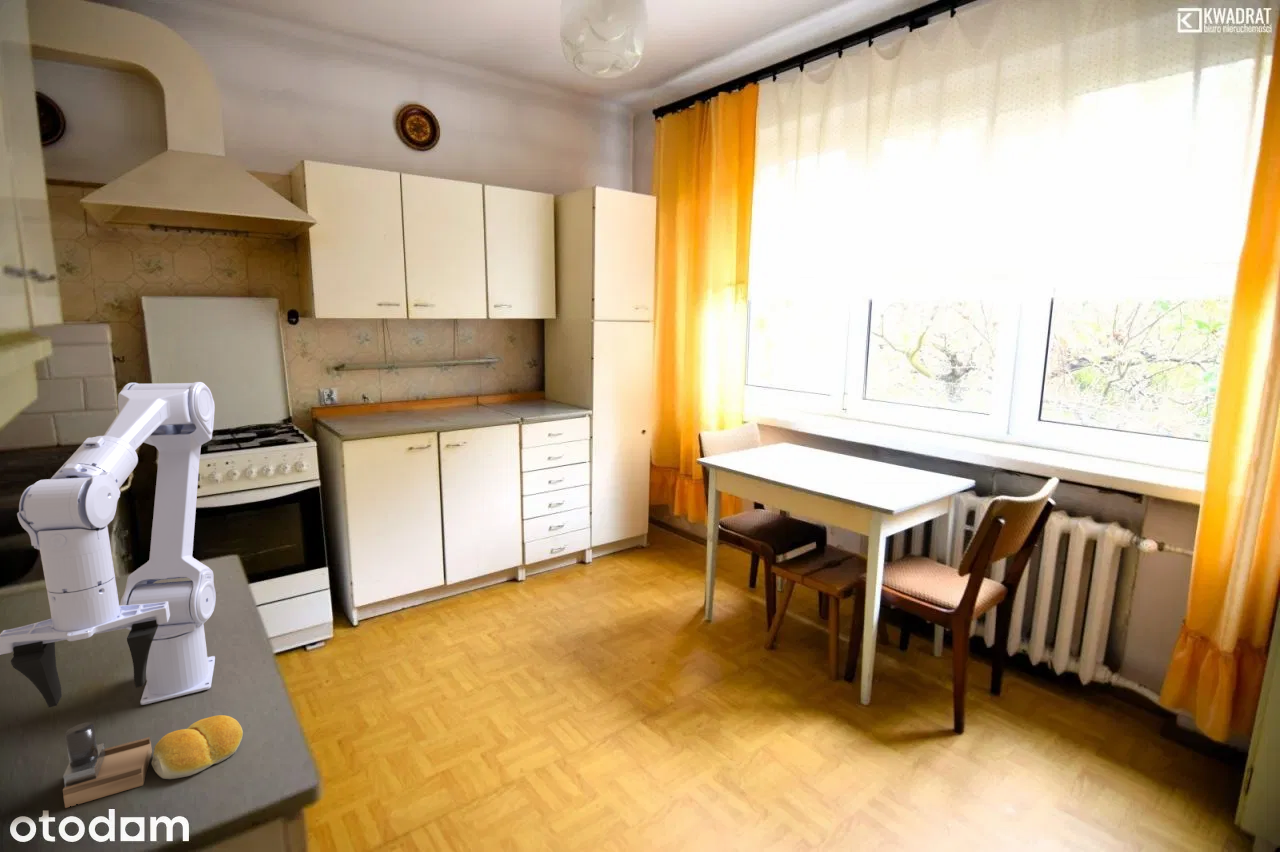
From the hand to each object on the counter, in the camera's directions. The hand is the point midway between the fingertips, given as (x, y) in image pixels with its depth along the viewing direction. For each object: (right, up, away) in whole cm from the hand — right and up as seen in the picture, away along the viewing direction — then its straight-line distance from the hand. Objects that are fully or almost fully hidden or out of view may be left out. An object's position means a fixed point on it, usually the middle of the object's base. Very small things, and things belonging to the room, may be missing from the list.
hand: (99, 692), depth 72 cm
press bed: (+2, -10, 0) cm, 10 cm away
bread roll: (+9, -10, +4) cm, 14 cm away
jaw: (0, -8, -1) cm, 8 cm away
